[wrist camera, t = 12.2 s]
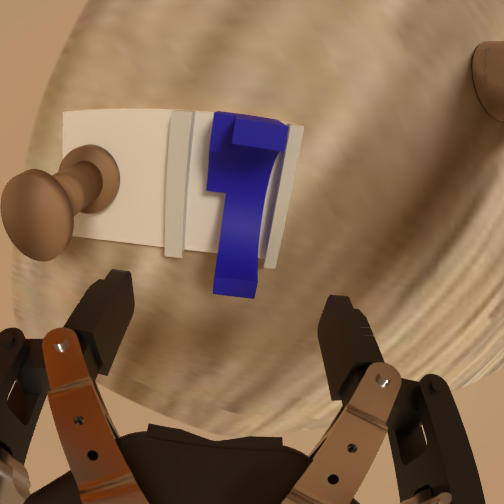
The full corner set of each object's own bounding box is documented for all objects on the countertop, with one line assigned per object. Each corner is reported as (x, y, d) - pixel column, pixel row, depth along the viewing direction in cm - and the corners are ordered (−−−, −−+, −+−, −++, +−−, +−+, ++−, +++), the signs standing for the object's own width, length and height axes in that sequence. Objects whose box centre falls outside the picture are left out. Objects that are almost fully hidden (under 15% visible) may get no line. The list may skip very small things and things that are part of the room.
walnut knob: (120, 144, 21) (61, 174, 13) (120, 212, 24) (72, 266, 16) (62, 144, 20) (-5, 174, 12) (66, 207, 23) (10, 255, 15)
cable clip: (217, 111, 20) (208, 115, 15) (277, 119, 20) (289, 126, 15) (201, 250, 26) (191, 291, 21) (252, 256, 26) (254, 298, 21)
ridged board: (297, 123, 22) (304, 126, 19) (272, 253, 28) (275, 268, 25) (70, 110, 20) (54, 113, 18) (75, 230, 26) (62, 242, 23)
